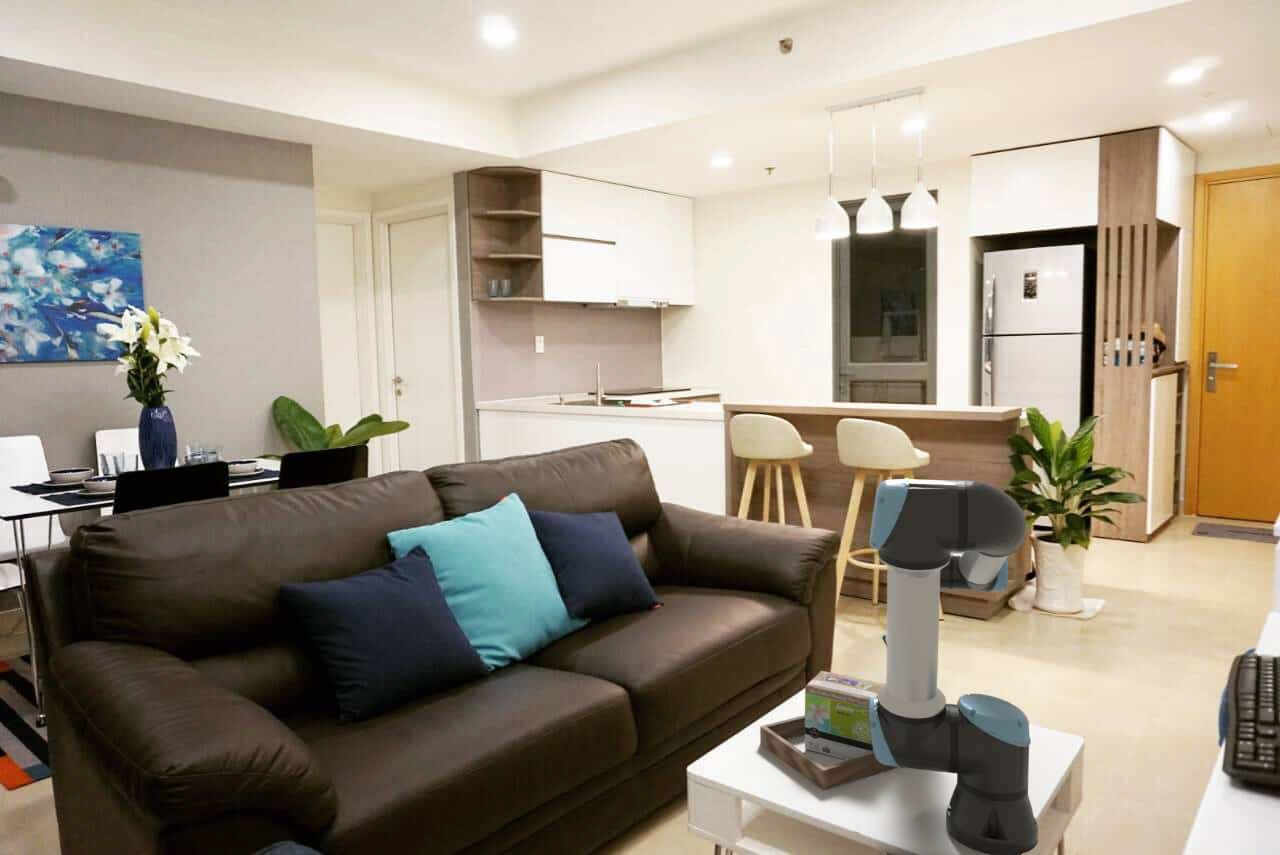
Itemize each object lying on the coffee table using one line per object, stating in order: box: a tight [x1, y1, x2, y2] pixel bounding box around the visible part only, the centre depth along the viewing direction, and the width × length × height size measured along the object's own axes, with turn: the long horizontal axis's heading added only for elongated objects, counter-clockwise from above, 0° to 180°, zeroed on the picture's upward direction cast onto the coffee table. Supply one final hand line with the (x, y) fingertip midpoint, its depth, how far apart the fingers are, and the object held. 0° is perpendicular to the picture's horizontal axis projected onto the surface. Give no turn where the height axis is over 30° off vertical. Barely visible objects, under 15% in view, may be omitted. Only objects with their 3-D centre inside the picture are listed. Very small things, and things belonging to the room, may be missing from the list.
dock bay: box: [759, 714, 899, 791], centre depth 182 cm, size 22×22×4 cm
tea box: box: [804, 670, 884, 761], centre depth 183 cm, size 15×10×15 cm, turn 58°
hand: (907, 706), depth 190 cm, fingers closed
